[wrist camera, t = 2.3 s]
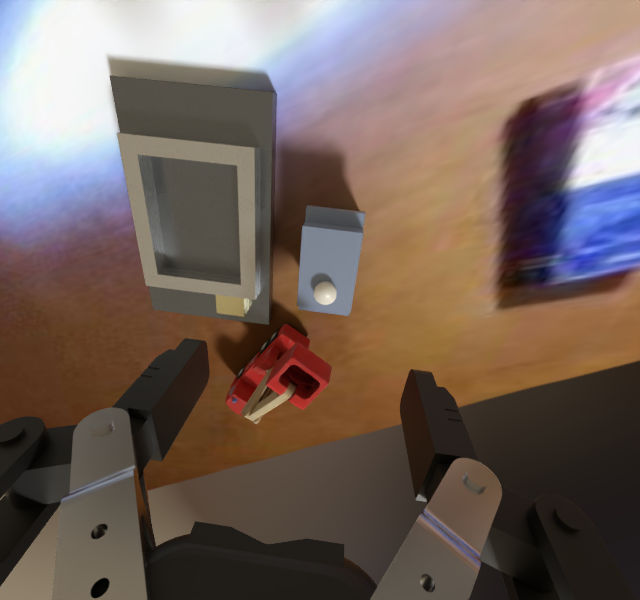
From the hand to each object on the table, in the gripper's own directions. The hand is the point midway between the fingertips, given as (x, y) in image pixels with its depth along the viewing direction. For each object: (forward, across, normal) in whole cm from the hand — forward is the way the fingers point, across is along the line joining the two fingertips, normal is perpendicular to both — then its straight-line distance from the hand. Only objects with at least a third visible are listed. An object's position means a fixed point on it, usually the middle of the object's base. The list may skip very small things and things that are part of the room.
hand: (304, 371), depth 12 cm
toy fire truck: (+16, +4, +11) cm, 20 cm away
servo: (+16, 0, 0) cm, 16 cm away
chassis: (+16, +10, -1) cm, 19 cm away
